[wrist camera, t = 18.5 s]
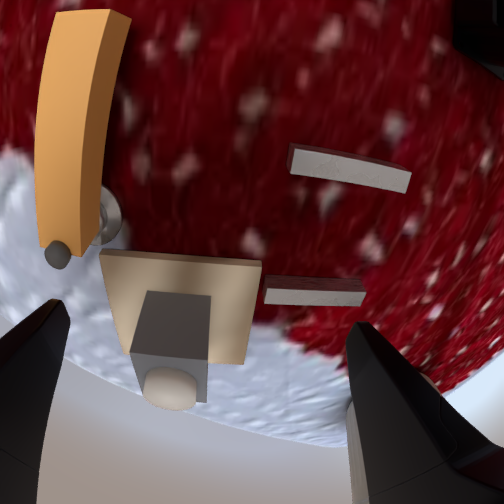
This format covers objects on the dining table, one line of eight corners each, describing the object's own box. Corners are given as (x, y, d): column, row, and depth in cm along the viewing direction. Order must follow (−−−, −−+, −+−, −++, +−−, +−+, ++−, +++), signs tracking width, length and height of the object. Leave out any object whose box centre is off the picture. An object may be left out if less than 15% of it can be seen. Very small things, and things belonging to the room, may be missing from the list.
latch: (83, 19, 10) (49, 11, 7) (131, 19, 10) (105, 6, 7) (61, 232, 17) (37, 263, 14) (99, 241, 18) (78, 274, 15)
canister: (302, 413, 37) (323, 546, 20) (401, 341, 29) (464, 506, 12) (375, 421, 43) (400, 519, 26) (455, 364, 35) (501, 472, 18)
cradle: (400, 164, 18) (413, 173, 16) (354, 293, 24) (360, 307, 23) (54, 135, 15) (40, 142, 14) (76, 273, 21) (68, 287, 20)
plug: (211, 295, 22) (206, 380, 16) (208, 344, 25) (206, 419, 19) (147, 290, 22) (124, 371, 15) (154, 339, 25) (140, 412, 19)
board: (261, 260, 22) (262, 267, 21) (243, 358, 28) (243, 364, 27) (102, 248, 20) (98, 254, 19) (125, 347, 27) (123, 354, 26)
